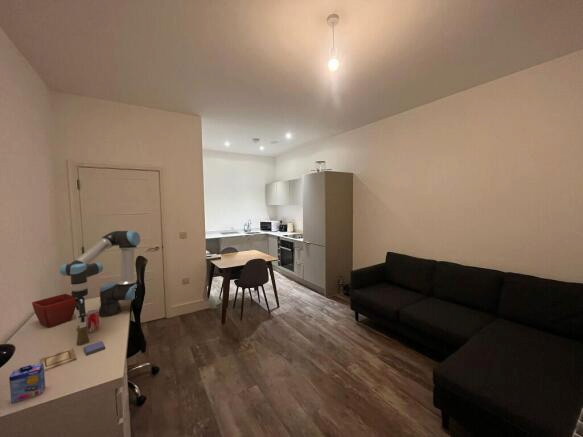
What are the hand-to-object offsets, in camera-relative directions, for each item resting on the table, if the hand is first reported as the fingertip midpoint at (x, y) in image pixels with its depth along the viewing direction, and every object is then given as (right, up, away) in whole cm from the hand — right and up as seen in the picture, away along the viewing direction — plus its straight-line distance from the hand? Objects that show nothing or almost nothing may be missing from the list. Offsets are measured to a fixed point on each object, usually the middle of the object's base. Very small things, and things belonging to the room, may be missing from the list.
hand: (81, 323), depth 150 cm
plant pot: (-42, -11, +28) cm, 52 cm away
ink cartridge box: (+11, -15, -40) cm, 44 cm away
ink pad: (+13, -13, -6) cm, 19 cm away
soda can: (-5, -12, +16) cm, 20 cm away
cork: (0, -13, +1) cm, 13 cm away
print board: (+1, -14, -16) cm, 21 cm away
